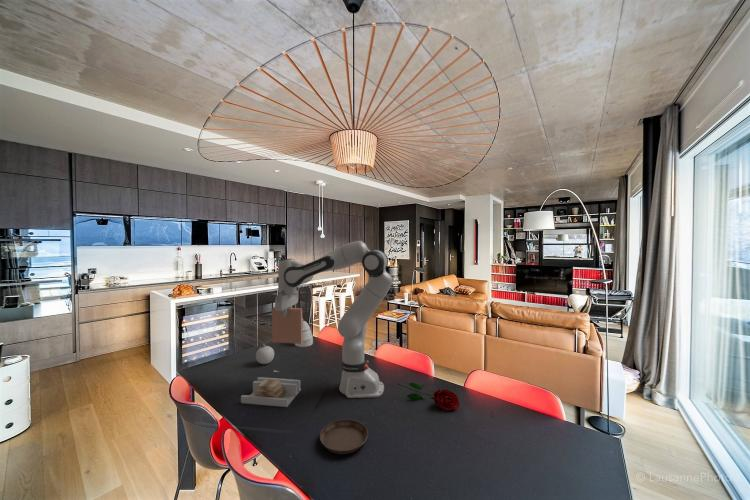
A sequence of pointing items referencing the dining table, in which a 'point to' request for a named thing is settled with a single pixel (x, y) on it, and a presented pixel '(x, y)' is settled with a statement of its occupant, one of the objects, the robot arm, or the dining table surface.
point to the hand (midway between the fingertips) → (287, 315)
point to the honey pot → (306, 335)
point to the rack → (290, 390)
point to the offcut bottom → (280, 395)
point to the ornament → (265, 354)
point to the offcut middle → (270, 393)
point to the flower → (437, 397)
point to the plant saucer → (343, 436)
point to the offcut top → (269, 385)
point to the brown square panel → (287, 326)
